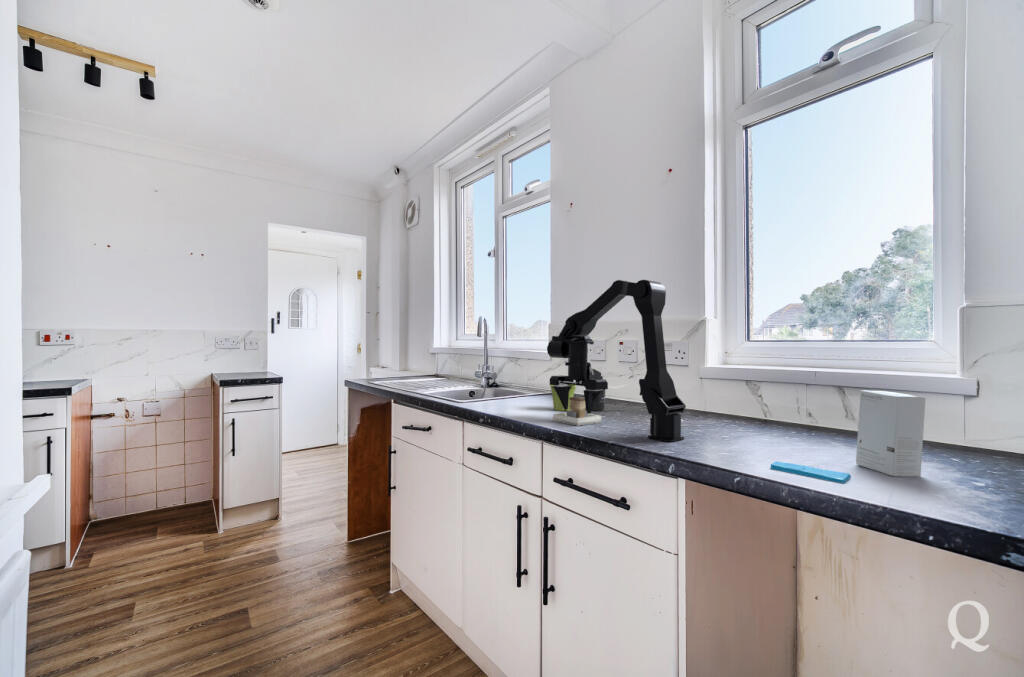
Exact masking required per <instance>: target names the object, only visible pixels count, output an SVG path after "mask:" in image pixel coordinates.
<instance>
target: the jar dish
mask: <svg viewBox="0 0 1024 677" xmlns="http://www.w3.org/2000/svg"><path fill="white" fill-rule="evenodd" d="M576 413H577V412H575V411H566V412H560V413H553V415H552V421H553V422H556V421H557V423H560V422H562V423H561V424H565V423H567V424H566V425H570V424H571V425H570V426H575V425H576V426H575V427H581V426H580V425H582V426H587V425H586V424H589V425H594V424H593V423H595V424H600V423H599V422H601V423H602V415H597V414H592V413H590V414H587V411H586V409H585V417H583V418H576Z"/></svg>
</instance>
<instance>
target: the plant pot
mask: <svg viewBox="0 0 1024 677" xmlns="http://www.w3.org/2000/svg"><path fill="white" fill-rule="evenodd" d="M552 386H554V385H550V384H549V387H550V391H551V395H552V403H553V410H555V411H557V412H558V411H559V412H563V411H566V412H567V411H569V405H570V400H569V401H568V409H567V410H565V409H564V407H563V405H562V403H561V401H560V399H559V397H558V395H557V393H556V391H555V389H554V388H552ZM567 386H572V387H571V389H570V391H569V398H570V397H575V395H574V394H575V392H576V388H577V386H578V385H567Z"/></svg>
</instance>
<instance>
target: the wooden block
mask: <svg viewBox="0 0 1024 677" xmlns="http://www.w3.org/2000/svg"><path fill="white" fill-rule="evenodd" d="M569 400H570V405H569V411H575V412H577V413H576V418H583V417H585V410H586V408H585V398H584V397H580V396H573V397H570V398H569Z"/></svg>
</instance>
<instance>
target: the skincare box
mask: <svg viewBox="0 0 1024 677" xmlns="http://www.w3.org/2000/svg"><path fill="white" fill-rule="evenodd" d="M925 408H926V397H923V396H920V395H912V394H907V393H901V392H895V391H885V390H865V389H864V390H863V389H861V390H860V395H859V408H858V409H859V411H858V424H857V425H858V426H857V440H856V442H857V443H856V455H855V464H856V465H857V466H860V467H863V468H866V469H869V470H873V471H877V472H880V473H883V474H884V475H888V476H891V477H913V478H914V477H921V476H922V473H921V472H922V459H923V458H922V457H923V443H924V428H925V427H924V423H925V413H926V412H925V410H926V409H925Z"/></svg>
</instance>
